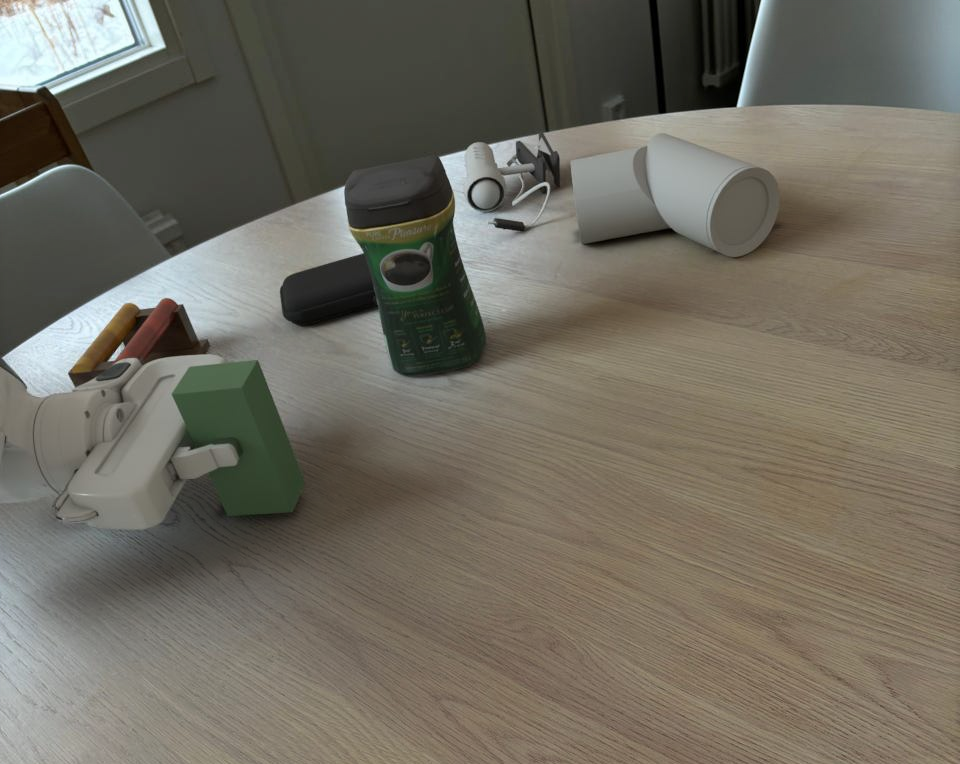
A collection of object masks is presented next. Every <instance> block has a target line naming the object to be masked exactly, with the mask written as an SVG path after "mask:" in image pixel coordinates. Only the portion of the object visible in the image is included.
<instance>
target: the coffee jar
mask: <svg viewBox="0 0 960 764" xmlns="http://www.w3.org/2000/svg"><path fill="white" fill-rule="evenodd" d="M446 171H447V170H446V169H445V166H444V164H443V162H442V160H441V157H439V156H438V155H436V154H432V155H428V156H424V157H419V158H415V159H409V160H403V161H398V162H392V163H387V164H386V163H385V164H382V165H377V166H372V167H367V168H359V169H354V170H353V171H352V172H351V173H350V175H349V177H348V179H347V180H346V182H345V186H344V188H343V192H344V193H343V195H344V205H345V208H346V216H347V222H348V228H349V231H350V233H351V236H352V238H353V239H354V240H355V241H356V243H357V244H358V246H359V247H360V249H361V251H362V252H363V253H364V255H365V258H366V261H367V264H368V267H369V270H370V274H371V277H372V281H373V285H374V289H375V294H376V299H377V308H378V314H379V318H380V319H379V320H380V324H381V329H382V334H383V339H384V344H385V348H386V353H387V357H388V361H389V365H390V367H391V369H392V370H393V371H394V372H396V373H397V374H399V375H401V376H407V377H411V376H423V375H432V374H439V373H444V372H449V371H456V370H460V369H463V368H466V367H469V366H470V365H472V364H473V363H475V362H476V360H478V359H479V358H480V357H481V356H482V354H483V353H484V351H485V347H486V342H487V334H486V329H485V324H484V322H483V318H482V315H481V312H480V309H479V306H478V304H477V300H476V298H475V295H474V292H473V290H472V286H471V284H470V281H469V277H468V275H467V272H466V269H465V266H464V263H463V259H462V256H461V253H460V250H459V249H460V248H459V245H458V241H457V237H456V231H455V226H454V218H455V214H456V213H455V212H456V198H455V192H454V190H453V187H452V185H451V184H452V183H451V182H450V180H449V177H448V175H447V172H446ZM363 253H362V254H363Z"/></svg>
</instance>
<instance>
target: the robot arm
mask: <svg viewBox="0 0 960 764" xmlns="http://www.w3.org/2000/svg"><path fill="white" fill-rule="evenodd" d="M221 363H229V362H228V360H227V359H225V357H222V356H221V355H218V354H214V353H205V354H201V355H186V356H175V357H166V358H161V359H156V360H153V361H150V362H148V363H146V364H145V365H143V366H142V365H141V363H140V361H139V360H138V359H137V358H126V359H122V360H119V361H117V362H116V363H114V364H113V365H112V366H111V367H109V368H108V369H107V370H106V371H104V372H103V373H101V374H100V375H99V376H97V377H95V378H94V379H92V380H90V381H89V382H87V383H84V384H82V385H80V386H77V387H76V388H75V387H74V388H73V389H71V391H68V392H67V391H65V392H57V393H52V394H50V395H47V396H42V397H41V396H36V395H33V394H31V393H30V392H29V391H28V386H27V384H26V383H25V382H24V380H23V379H22V378H21V377H20V375H19V374H18V373H17V372H16V371H15V370H14V369H13V368H12V367H11V366H10V364H8V363H7V362H6V360H4V359H3V358H2V356H0V504H20V503H23V504H24V503H33V502H36V501H41V500H42V499H44V498H47V497H56V498H55V499H54V501H53V503H52V510H53V513H54V514H53V515H54V518H55V520H57V521H59V522H60V523H61V524H64V525H69V524H83V523H85V524H86V525H88V526H90V527H93V528H97V529H103V530H104V529H105V530H106V529H107V530H118V531H119V530H121V531H144V530H148V529H151V528H154V527H155V526H158V525H159V524H161V523H162V522H163V521H164V520H165V518H166V516H167V515H168V513H169V511H170V510H171V508H172V506H173V505H174V503H175V501H176V499H177V498H178V496H179V494H180V492H181V491H182V489H183V487H184V486H185V484H186V482H187V481H188V480H191V479H192V480H193V479H194V480H195V479H197V478H199V477H200V478H201V477H202V476H204V475H206V474H208V472H211V471H213V470H215V469H217V468H218V467H227V466H235V465H237V463H238V461H239V459H240V457H241V455H242V453H243V451H242V449H241V447H240V444H239V442H238V440H237V439H236V438H233V437H228V438H216V440H215V441H214V443H213V444H210V445H207V446H204V447H200V448H197V449H196V446H195V444H194V442H193V440H192V438H191V436H190V433H189V431H188V429H187V427H186V425H185V423H184V420H183V418H182V416H181V414H180V412H179V410H178V407H177V405H176V403H175V401H174V399H173V397H172V392H173V391H174V389H175V388H176V386H177V385H178V383H179V382H180V380H181V379H182V377H183V376H184V374H185V373H186V371H187V370H188V368H189V367H191V366H201V365H211V364H221Z"/></svg>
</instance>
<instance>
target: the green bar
mask: <svg viewBox="0 0 960 764" xmlns="http://www.w3.org/2000/svg"><path fill="white" fill-rule="evenodd" d="M261 366H262V365H261V364H260V361H259V360H258V359H252V360H241V361H232V362H228V363H221V364H211V365H201V366H191V367H189V368H188V370H187V371H186V373H185V374H184V376H183V377H182V379H181V380H180V382H179V383H178V385H177V386H176V388H175V389H174V391H173V392H172V397H173V399H174V401H175V403H176V405H177V407H178V410H179V412H180V414H181V416H182V418H183V420H184V423H185V425H186V427H187V429H188V431H189V433H190V436H191V438H192V440H193V442H194V444H195V446H196V449H197V448H200V447H204V446H207V445H210V444H213V443H214V441H215V440H216V438H228V437H233V438H236V439H237V440H238V442H239V444H240V447H241V449H242V451H243V453H242V455H241V457H240V459H239V461H238V463H237V465H235V466H227V467H218V468H217V469H215V470H213V471H211V472H208V473H207V475H208V477H209V479H210V481H211V484H212V485H213V488H214V490H215V492H216V494H217V496H218V498H219V501H220V503H221V505H222V507H223V509H224V512H225V514H226V516H227V517H237V516H250V515H251V516H253V515H254V516H255V515H269V514H283V513H294V510H295V508H296V505H297V504H298V501H299V499H300V498H301V497H300V496H301V494H302V492H303V490H304V487H305V486H306V480H305V478H304V475H303V472H302V471H301V468H300V465H299V462H298V460H297V458H296V455H295V452H294V450H293V447H292V445H291V442H290V439H289V436H288V434H287V431H286V429H285V426H284V424H283V421H282V418H281V415H280V413H279V410H278V407H277V406H276V403H275V401H274V398H273V395H272V393H271V389H270V387H269V385H268V382H267V380H266V377H265V374H264V372H263V369H262V367H261Z"/></svg>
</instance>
